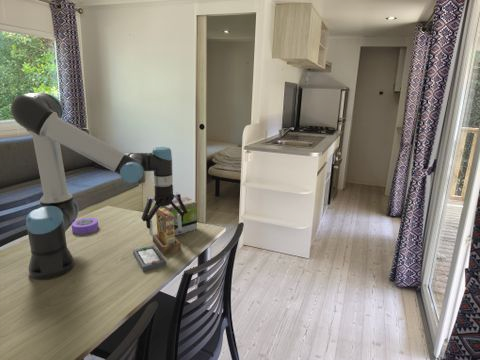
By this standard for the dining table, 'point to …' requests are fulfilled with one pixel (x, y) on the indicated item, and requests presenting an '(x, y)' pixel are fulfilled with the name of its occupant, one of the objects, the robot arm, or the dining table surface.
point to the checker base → (154, 263)
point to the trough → (166, 246)
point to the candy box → (165, 226)
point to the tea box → (188, 218)
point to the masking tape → (84, 225)
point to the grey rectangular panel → (148, 256)
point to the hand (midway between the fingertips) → (165, 231)
